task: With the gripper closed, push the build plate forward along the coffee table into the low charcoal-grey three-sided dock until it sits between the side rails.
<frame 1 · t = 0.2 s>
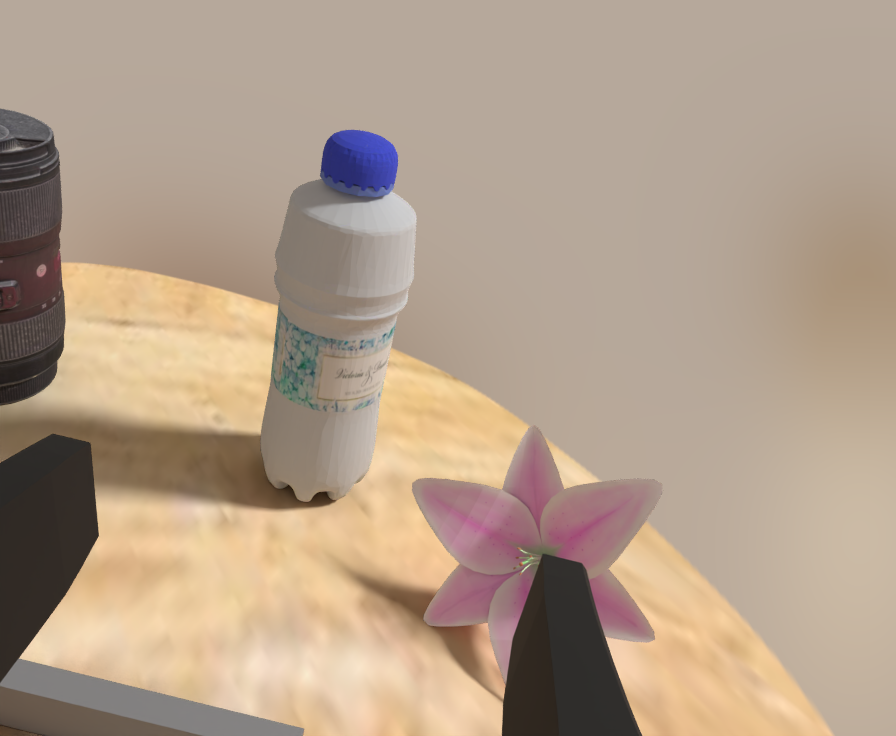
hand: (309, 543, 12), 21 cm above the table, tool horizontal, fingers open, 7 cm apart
bottle: (312, 477, 45), on the table
lily: (506, 623, 40), on the table
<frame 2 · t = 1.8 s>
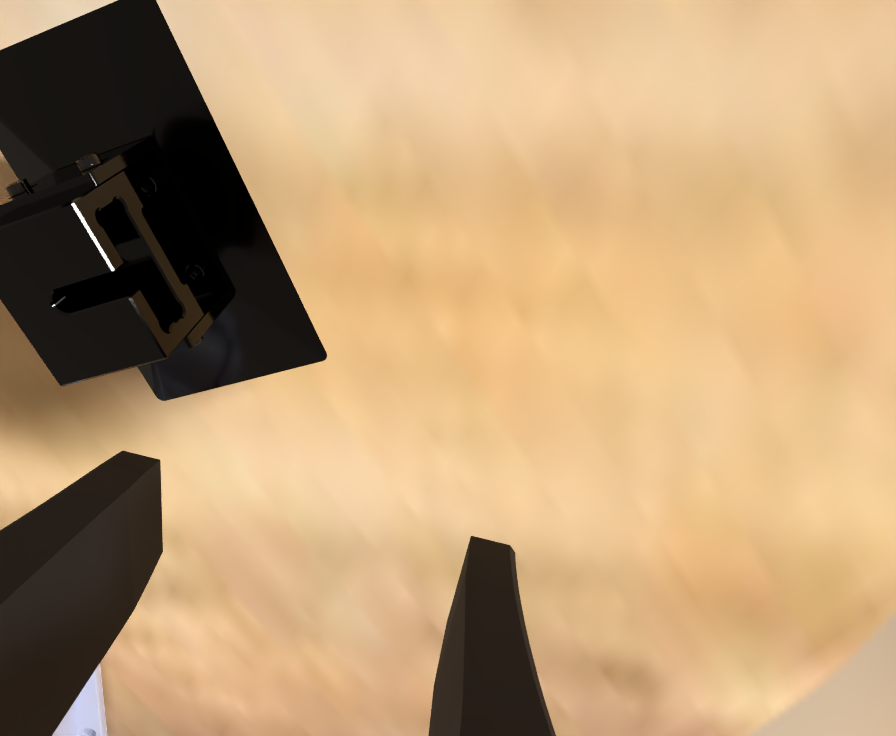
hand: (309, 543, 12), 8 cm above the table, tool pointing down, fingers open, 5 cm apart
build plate: (168, 216, 20), on the table
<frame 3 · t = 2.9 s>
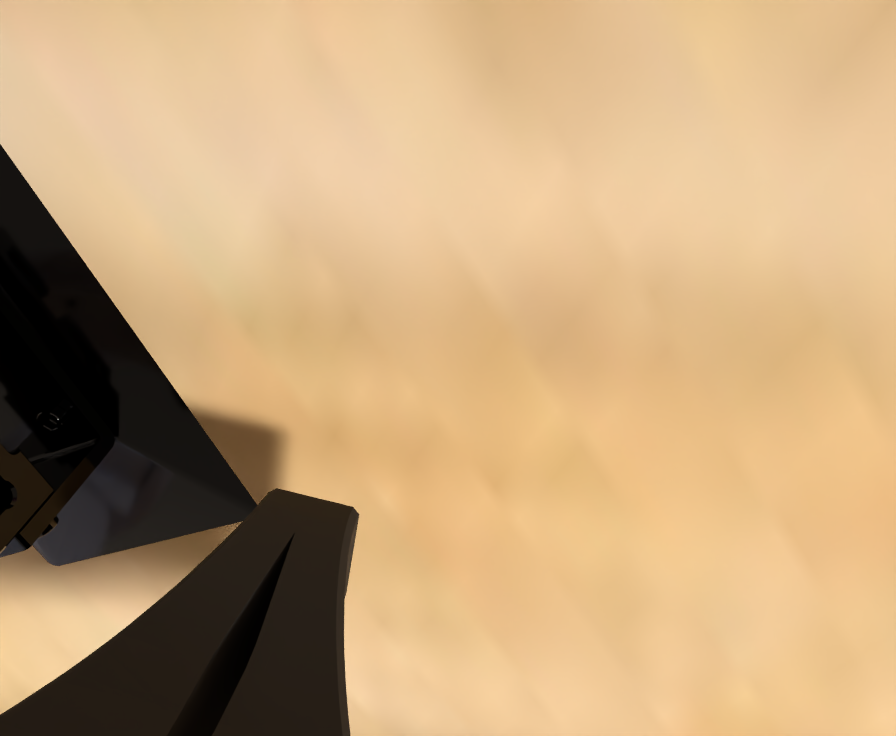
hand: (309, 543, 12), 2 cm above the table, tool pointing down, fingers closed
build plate: (24, 338, 15), on the table
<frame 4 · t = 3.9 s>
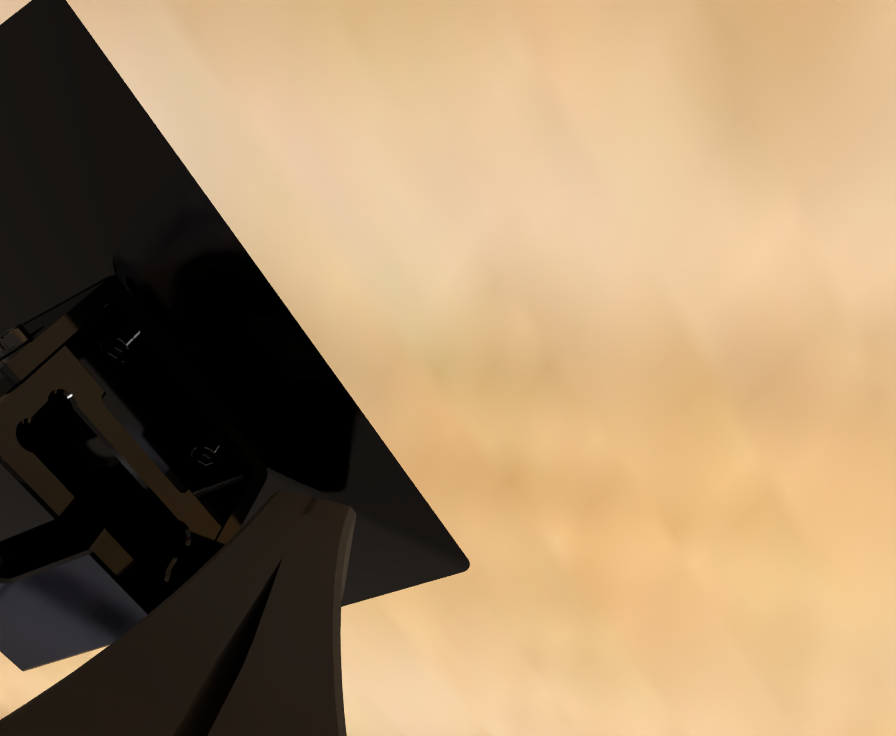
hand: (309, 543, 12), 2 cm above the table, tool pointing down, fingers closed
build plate: (164, 372, 14), on the table, touching gripper
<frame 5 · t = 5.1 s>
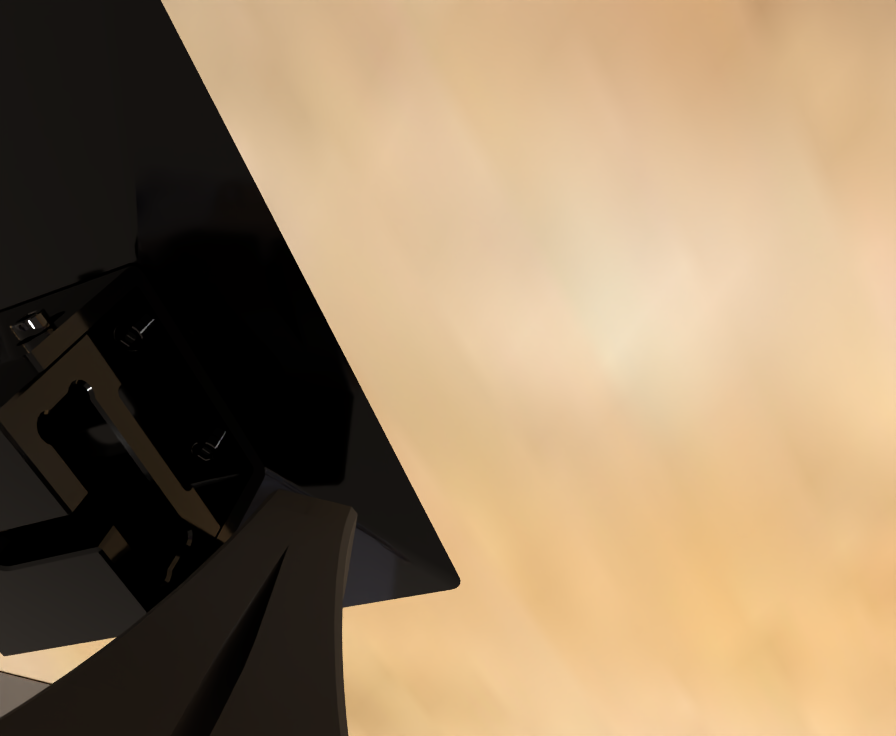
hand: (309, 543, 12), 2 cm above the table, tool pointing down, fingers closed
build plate: (166, 359, 14), on the table, touching gripper
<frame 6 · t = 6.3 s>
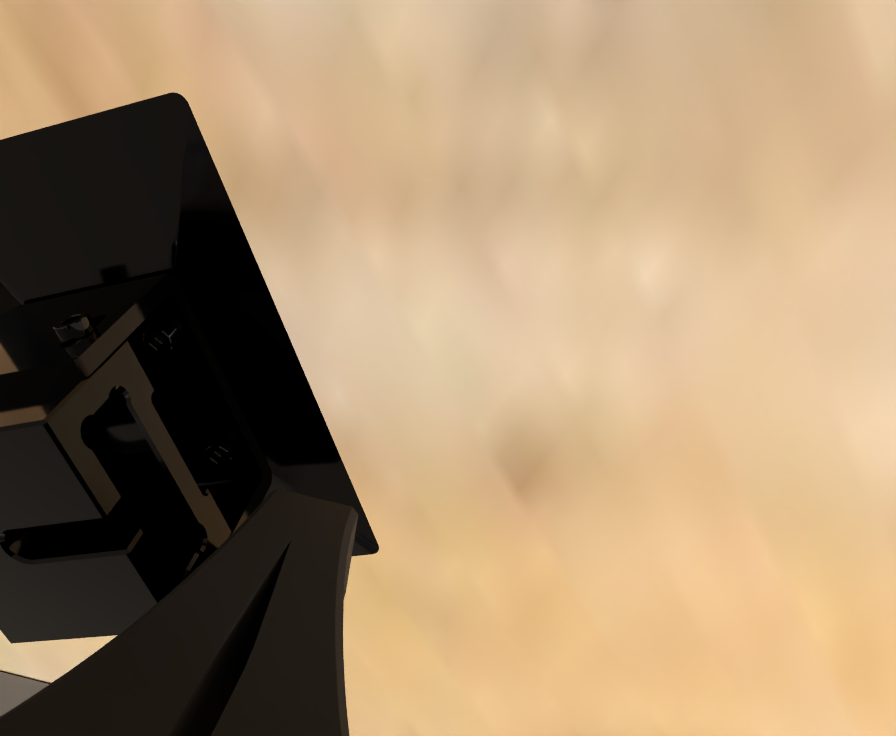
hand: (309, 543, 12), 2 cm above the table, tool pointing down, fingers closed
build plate: (181, 359, 14), on the table, touching gripper
dock: (165, 424, 14), on the table
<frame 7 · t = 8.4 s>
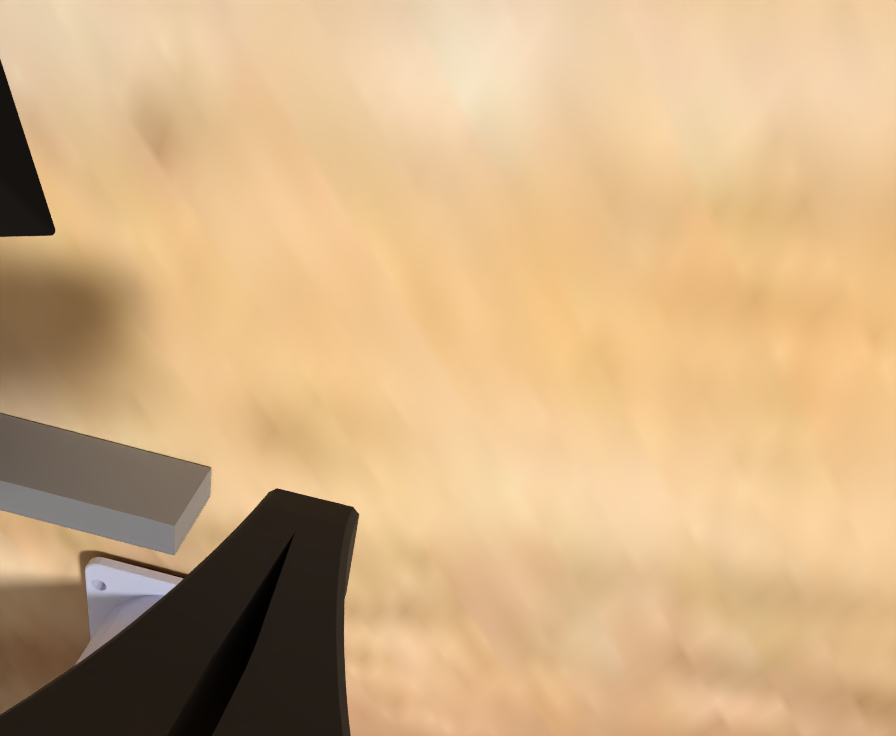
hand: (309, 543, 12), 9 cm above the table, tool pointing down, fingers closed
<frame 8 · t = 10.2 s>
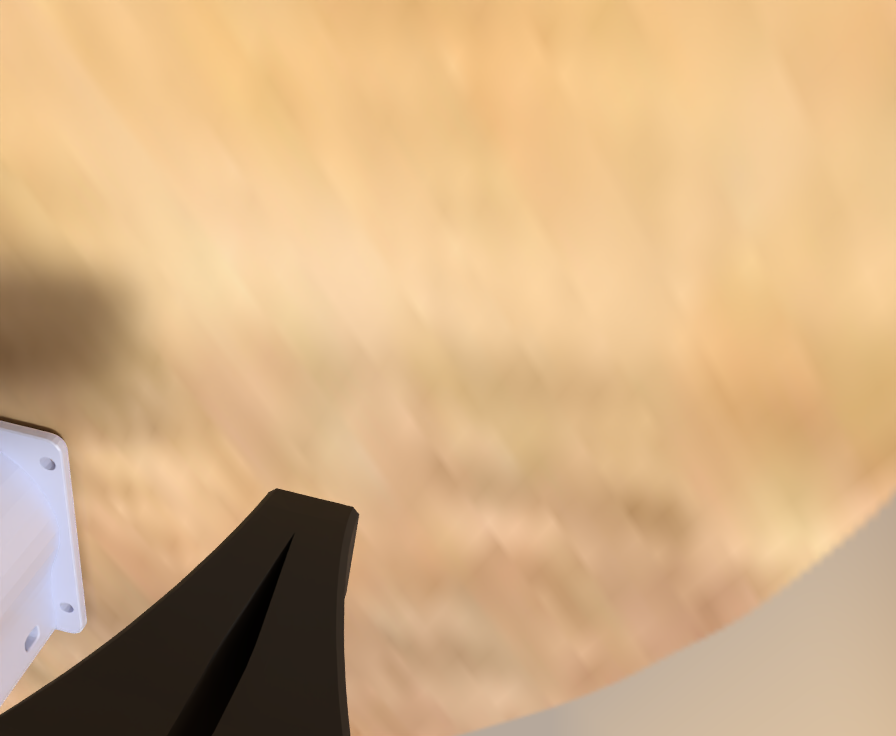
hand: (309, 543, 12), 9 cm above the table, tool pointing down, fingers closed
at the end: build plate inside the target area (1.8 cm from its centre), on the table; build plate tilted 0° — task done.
